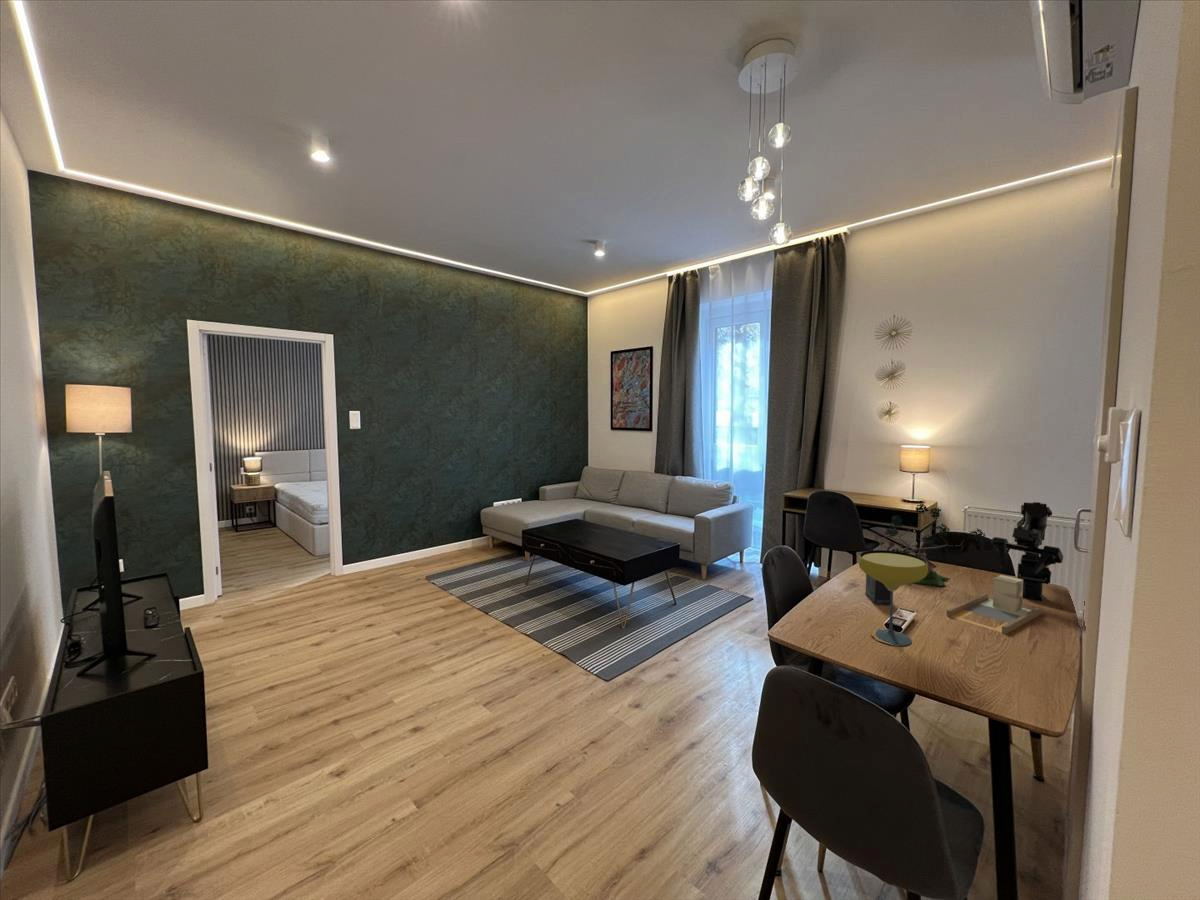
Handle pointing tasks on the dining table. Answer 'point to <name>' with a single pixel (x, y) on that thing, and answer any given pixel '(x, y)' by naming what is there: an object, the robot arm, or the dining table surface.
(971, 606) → the trough deck
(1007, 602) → the maple block
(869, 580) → the small box
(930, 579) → the bonsai tree
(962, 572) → the dining table surface
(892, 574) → the cocktail glass
